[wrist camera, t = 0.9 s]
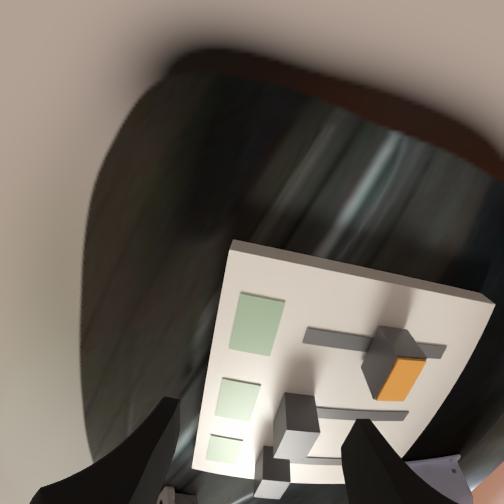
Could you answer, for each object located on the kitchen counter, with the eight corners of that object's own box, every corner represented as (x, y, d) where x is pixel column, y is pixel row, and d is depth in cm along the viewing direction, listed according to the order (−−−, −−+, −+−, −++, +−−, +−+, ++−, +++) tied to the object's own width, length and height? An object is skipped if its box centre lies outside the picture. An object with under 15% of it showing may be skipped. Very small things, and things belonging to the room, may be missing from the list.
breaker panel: (480, 293, 18) (522, 327, 13) (376, 467, 24) (387, 507, 19) (233, 239, 18) (220, 273, 13) (195, 451, 24) (185, 498, 19)
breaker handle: (407, 329, 16) (428, 360, 13) (388, 369, 17) (404, 402, 14) (378, 325, 16) (397, 357, 13) (360, 366, 17) (374, 401, 14)
